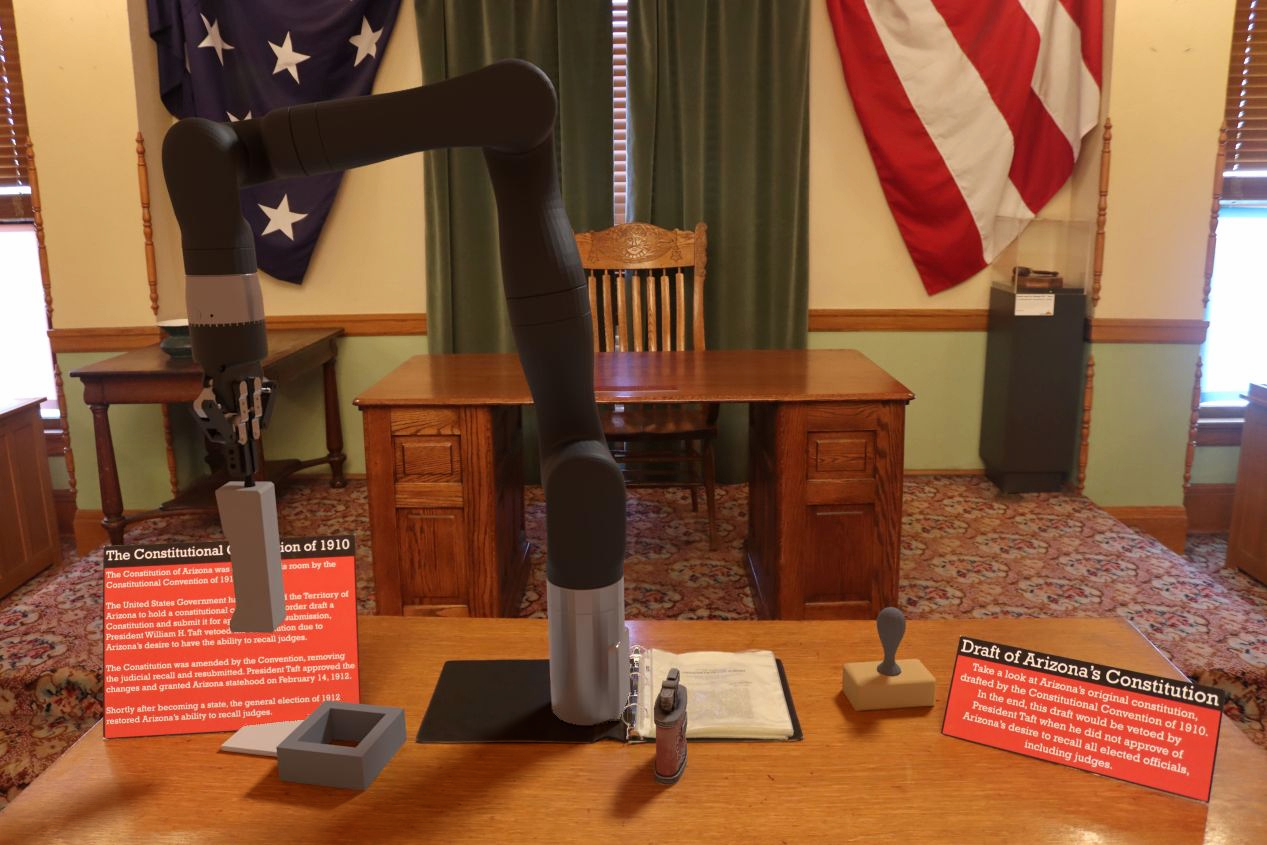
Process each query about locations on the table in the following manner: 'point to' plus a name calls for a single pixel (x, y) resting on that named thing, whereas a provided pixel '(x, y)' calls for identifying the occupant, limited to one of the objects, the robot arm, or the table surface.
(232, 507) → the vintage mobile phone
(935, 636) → the table surface
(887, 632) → the rubber stamp
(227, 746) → the tile
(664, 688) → the lighter
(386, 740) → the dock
